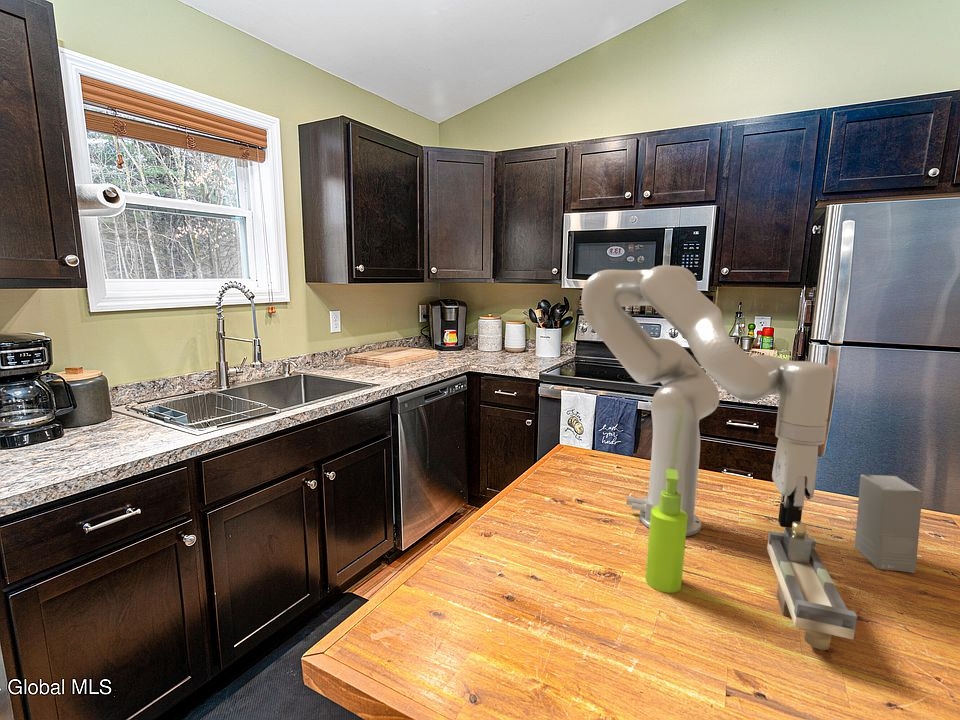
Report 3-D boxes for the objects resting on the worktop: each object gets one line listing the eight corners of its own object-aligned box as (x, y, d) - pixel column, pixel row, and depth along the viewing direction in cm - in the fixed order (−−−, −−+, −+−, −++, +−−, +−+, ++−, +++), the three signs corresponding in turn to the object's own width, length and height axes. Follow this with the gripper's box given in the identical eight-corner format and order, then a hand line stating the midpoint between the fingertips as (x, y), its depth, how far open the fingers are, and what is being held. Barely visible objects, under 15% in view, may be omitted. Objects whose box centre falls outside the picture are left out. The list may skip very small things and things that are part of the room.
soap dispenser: (680, 573, 90) (689, 468, 87) (682, 595, 83) (692, 483, 80) (646, 566, 92) (654, 463, 88) (645, 588, 85) (653, 478, 82)
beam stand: (791, 651, 71) (797, 604, 70) (764, 568, 92) (769, 530, 90) (849, 665, 69) (857, 616, 68) (808, 577, 89) (814, 538, 88)
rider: (787, 560, 85) (791, 527, 84) (782, 548, 88) (786, 517, 87) (808, 564, 83) (813, 531, 82) (803, 552, 87) (807, 520, 86)
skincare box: (916, 574, 91) (930, 493, 88) (871, 569, 92) (884, 489, 89) (888, 550, 99) (901, 474, 96) (848, 545, 100) (859, 471, 97)
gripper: (768, 417, 97) (759, 505, 100) (785, 440, 83) (773, 542, 86) (813, 422, 94) (802, 512, 97) (838, 446, 81) (824, 550, 84)
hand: (788, 525), depth 92 cm, fingers closed
